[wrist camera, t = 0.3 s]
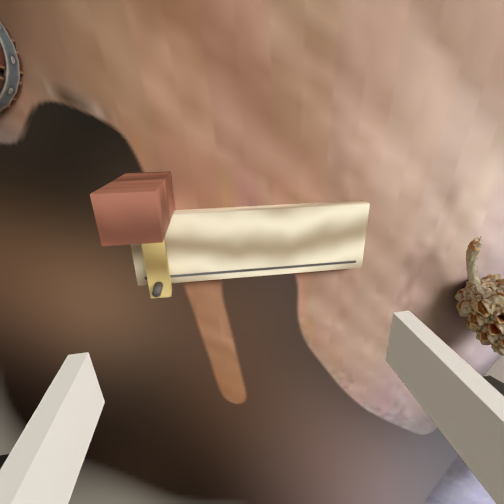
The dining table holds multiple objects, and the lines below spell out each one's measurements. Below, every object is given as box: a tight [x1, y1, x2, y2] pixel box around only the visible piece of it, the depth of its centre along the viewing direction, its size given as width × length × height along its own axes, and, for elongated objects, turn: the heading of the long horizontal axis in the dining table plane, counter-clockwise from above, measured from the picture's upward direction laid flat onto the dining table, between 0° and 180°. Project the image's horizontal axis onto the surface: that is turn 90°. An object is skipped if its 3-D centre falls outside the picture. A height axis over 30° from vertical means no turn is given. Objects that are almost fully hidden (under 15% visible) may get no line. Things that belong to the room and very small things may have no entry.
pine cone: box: [455, 236, 504, 356], centre depth 44 cm, size 22×10×10 cm, turn 39°
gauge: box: [90, 172, 175, 298], centre depth 32 cm, size 14×5×12 cm, turn 1°
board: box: [131, 200, 370, 286], centre depth 39 cm, size 9×30×2 cm, turn 91°
